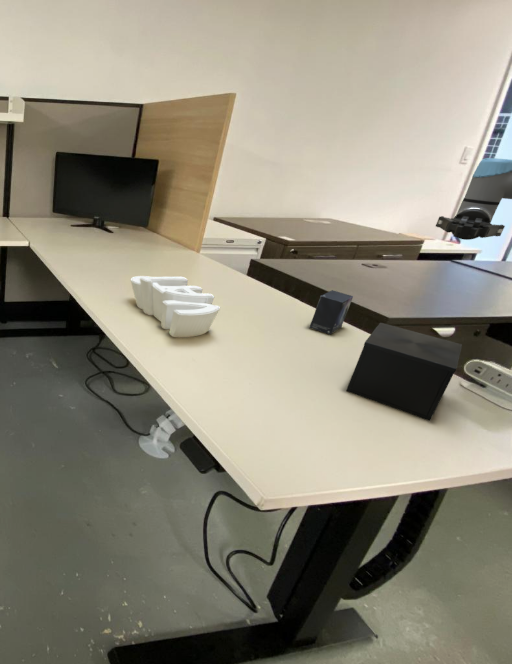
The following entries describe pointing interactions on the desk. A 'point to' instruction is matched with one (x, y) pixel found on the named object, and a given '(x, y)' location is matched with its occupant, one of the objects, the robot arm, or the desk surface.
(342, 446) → the desk surface
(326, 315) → the small box
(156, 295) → the white letter sign
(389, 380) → the black box body
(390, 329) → the black box lid
